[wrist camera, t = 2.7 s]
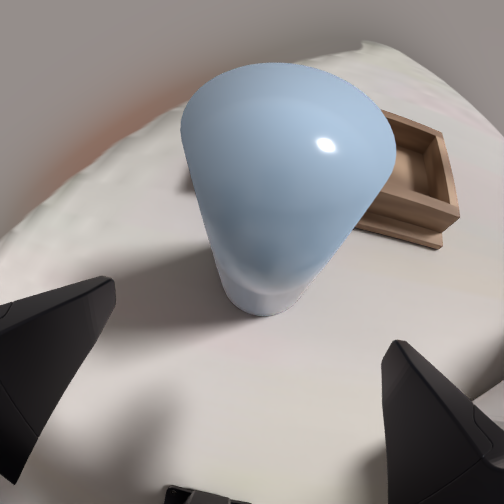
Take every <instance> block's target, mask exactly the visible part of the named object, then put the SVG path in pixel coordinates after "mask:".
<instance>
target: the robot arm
mask: <svg viewBox="0 0 504 504" xmlns="http://www.w3.org/2000/svg"><path fill="white" fill-rule="evenodd" d="M115 304H116V294H115V283H114V280H113V279H112V278H109V277H106V276H99V277H96V278H92V279H89V280H85V281H82V282H78V283H75V284H71V285H68V286H64V287H61V288H57V289H54V290H50V291H47V292H44V293H40V294H37V295H33V296H30V297H27V298H23V299H20V300H17V301H14V302H10V303H7V304H3V305H0V474H1V475H2V476H3V477H5V478H6V479H7V480H8V481H10V482H11V483H12V484H14V485H15V484H16V482H17V481H18V478H19V476H20V474H21V472H22V470H23V468H24V466H25V464H26V462H27V459H28V457H29V455H30V454H31V452H32V450H33V448H34V446H35V444H36V442H37V440H38V437H39V436H40V434H41V432H42V430H43V428H44V427H45V425H46V423H47V421H48V419H49V418H50V416H51V414H52V412H53V411H54V409H55V407H56V405H57V404H58V402H59V400H60V399H61V397H62V395H63V393H64V392H65V390H66V388H67V387H68V385H69V384H70V382H71V380H72V379H73V377H74V375H75V374H76V372H77V371H78V369H79V367H80V366H81V364H82V363H83V361H84V360H85V358H86V357H87V355H88V353H89V352H90V350H91V349H92V347H93V346H94V344H95V343H96V341H97V339H98V337H99V335H100V334H101V332H102V330H103V328H104V326H105V324H106V322H107V320H108V318H109V317H110V315H111V313H112V311H113V309H114V307H115ZM381 371H382V408H383V418H384V428H385V440H386V454H387V475H388V504H504V430H503V429H501V428H500V427H499V426H498V425H497V424H496V423H494V422H493V421H492V420H491V419H490V418H489V417H488V416H487V415H486V414H484V413H483V412H482V411H481V410H480V409H479V408H478V407H477V406H476V405H475V404H473V402H472V401H471V400H470V399H469V398H468V397H466V396H465V395H464V394H463V393H462V392H461V391H460V390H459V389H458V388H457V387H456V386H455V385H454V384H453V383H451V382H450V381H449V380H448V379H447V378H446V377H445V376H444V375H443V374H442V373H441V372H440V371H438V370H437V369H436V368H435V367H434V366H433V365H432V364H431V363H430V362H429V361H427V360H426V359H425V358H424V357H423V356H422V355H421V354H420V353H419V352H417V351H416V350H415V349H414V348H413V347H412V346H411V345H410V344H408V343H407V342H406V341H402V340H394V341H393V342H392V343H391V345H390V347H389V348H388V350H387V352H386V354H385V356H384V357H383V360H382V363H381ZM171 490H174V491H176V493H173V492H172V491H171ZM164 504H251V503H247V502H241V501H235V500H230V499H229V498H227V497H223V496H218V495H213V494H209V493H205V492H201V491H197V490H195V491H191V490H188V489H184V488H181V487H177V486H169V487H168V489H167V491H166V496H165V501H164Z"/></svg>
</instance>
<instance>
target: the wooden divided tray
mask: <svg viewBox="0 0 504 504" xmlns="http://www.w3.org/2000/svg"><path fill="white" fill-rule="evenodd" d="M380 110H381V109H380ZM381 111H382V113H383V114H384V116H385V117H386V119H387V121H388V123H389V124H390V126H391V129H392V132H393V134H394V138H395V143H396V160H395V165H394V168H393V171H392V173H391V175H390V177H389V178H388V180H387V182H386V183H385V185H384V186H383V188H382V189H381V190H380V192H379V193H378V195H377V196H376V198H375V199H374V201H373V202H372V203H371V205H370V206H369V208H368V209H367V210H366V212H365V213H364V215H363V216H362V217H361V219H360V220H359V222H358V223H357V224H356V226H355V228H359V229H363V230H367V231H371V232H375V233H379V234H383V235H387V236H391V237H394V238H398V239H402V240H406V241H409V242H413V243H417V244H420V245H424V246H428V247H431V248H435V249H440V248H441V247H442V246H443V240H442V232H443V231H445V230H446V229H447V228H448V227H449V226H451V225H452V224H453V223H454V222H455V221H457V220H458V219H459V218H460V212H459V206H458V200H457V194H456V189H455V184H454V179H453V174H452V170H451V165H450V161H449V157H448V153H447V149H446V146H445V142H444V139H443V135H442V133H441V132H439V131H437V130H434V129H432V128H430V127H427V126H425V125H422V124H420V123H417V122H415V121H412V120H409V119H407V118H404V117H401V116H398V115H396V114H393V113H390V112H387V111H384V110H381Z"/></svg>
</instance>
